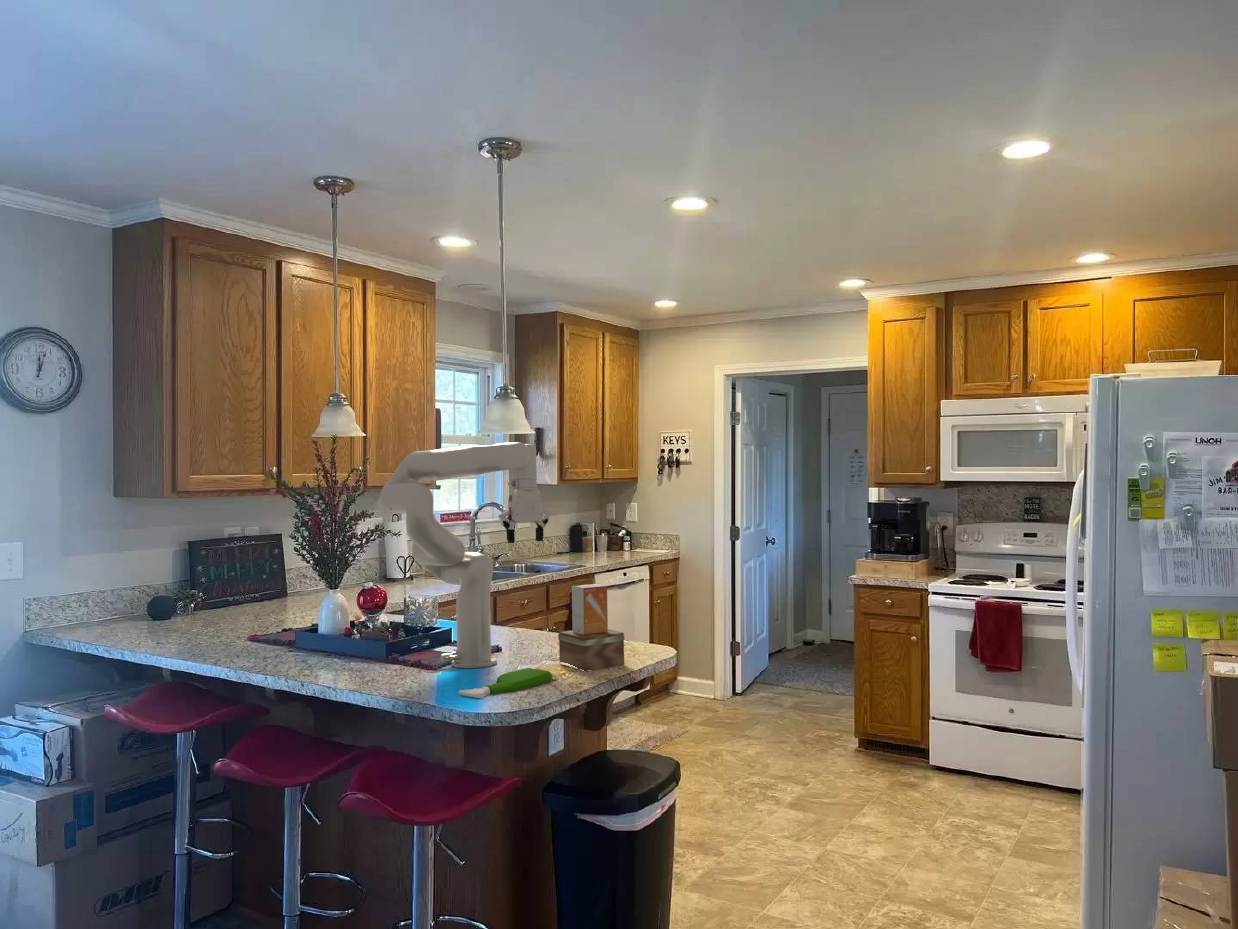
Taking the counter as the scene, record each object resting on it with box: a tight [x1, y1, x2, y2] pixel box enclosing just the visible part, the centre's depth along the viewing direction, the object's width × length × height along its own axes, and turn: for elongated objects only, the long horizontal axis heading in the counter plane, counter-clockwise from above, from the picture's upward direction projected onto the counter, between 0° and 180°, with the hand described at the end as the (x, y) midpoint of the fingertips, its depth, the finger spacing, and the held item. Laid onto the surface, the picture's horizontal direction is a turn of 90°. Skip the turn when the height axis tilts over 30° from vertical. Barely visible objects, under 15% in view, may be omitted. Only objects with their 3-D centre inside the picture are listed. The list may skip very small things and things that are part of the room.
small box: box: [571, 583, 609, 635], centre depth 252 cm, size 8×6×13 cm
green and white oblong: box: [458, 667, 553, 699], centre depth 225 cm, size 3×11×24 cm
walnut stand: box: [557, 629, 625, 672], centre depth 252 cm, size 13×13×9 cm
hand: (525, 541), depth 272 cm, fingers open, 9 cm apart
